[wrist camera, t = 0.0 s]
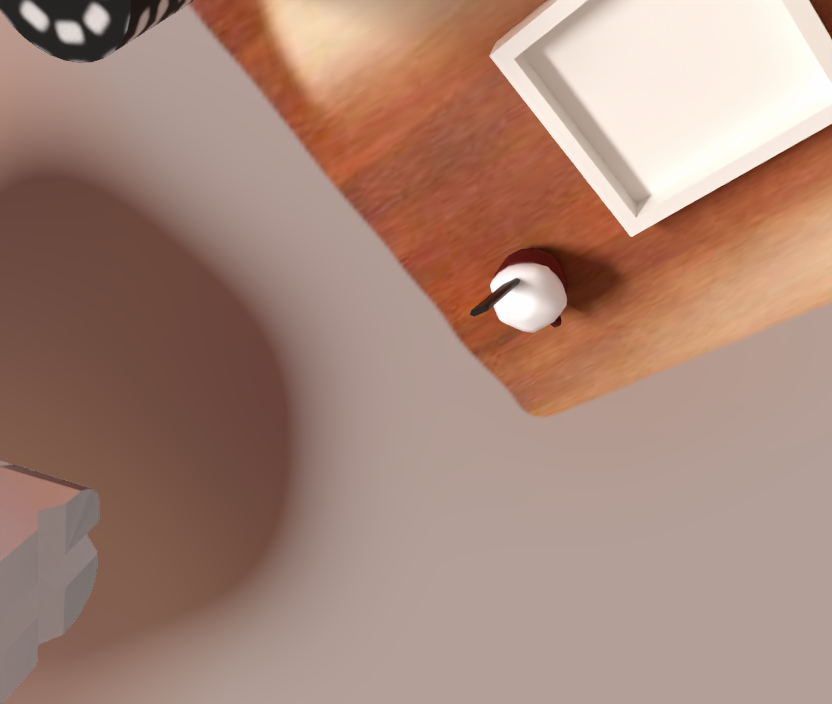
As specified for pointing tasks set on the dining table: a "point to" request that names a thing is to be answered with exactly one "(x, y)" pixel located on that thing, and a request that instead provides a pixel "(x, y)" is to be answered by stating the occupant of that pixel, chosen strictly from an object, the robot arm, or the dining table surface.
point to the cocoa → (527, 291)
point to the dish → (670, 91)
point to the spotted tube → (85, 24)
